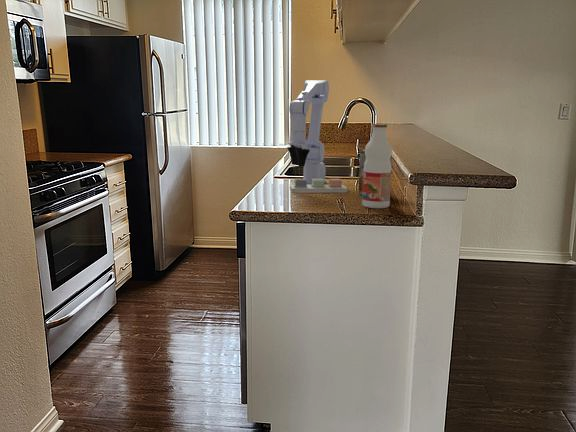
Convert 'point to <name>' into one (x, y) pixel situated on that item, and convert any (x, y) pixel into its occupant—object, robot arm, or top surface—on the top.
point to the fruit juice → (377, 169)
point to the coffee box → (361, 172)
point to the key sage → (318, 182)
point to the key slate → (300, 182)
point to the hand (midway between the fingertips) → (298, 165)
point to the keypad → (317, 189)
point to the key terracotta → (335, 182)
